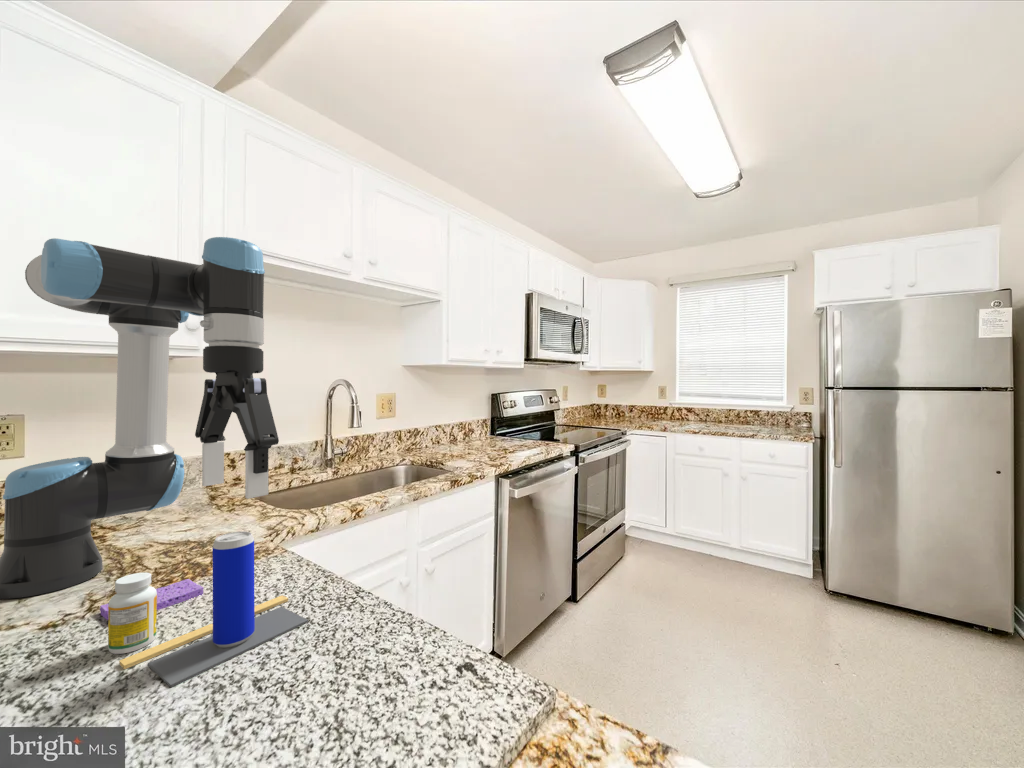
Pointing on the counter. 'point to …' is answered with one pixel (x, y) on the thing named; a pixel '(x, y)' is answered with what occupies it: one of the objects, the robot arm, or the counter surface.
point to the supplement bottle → (132, 614)
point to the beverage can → (233, 589)
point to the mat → (209, 654)
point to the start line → (189, 637)
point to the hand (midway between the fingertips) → (233, 490)
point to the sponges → (170, 595)
